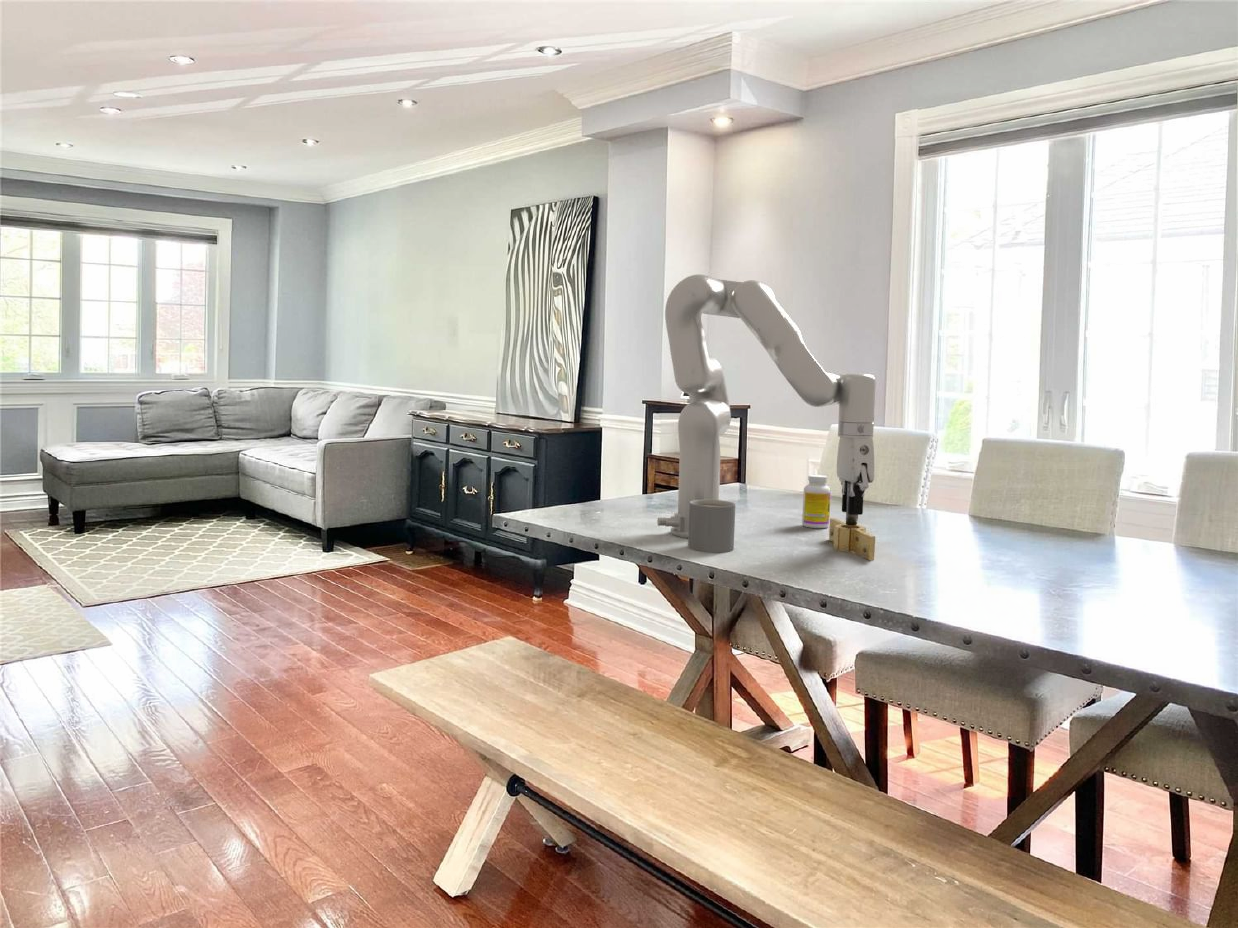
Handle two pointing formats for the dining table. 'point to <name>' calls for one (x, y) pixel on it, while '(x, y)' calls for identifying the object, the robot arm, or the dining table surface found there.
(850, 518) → the hinge pin
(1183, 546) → the dining table surface
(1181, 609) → the dining table surface
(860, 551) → the hinge base
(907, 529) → the dining table surface
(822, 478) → the supplement bottle
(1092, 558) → the dining table surface
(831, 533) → the wooden hinge leaf
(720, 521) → the coffee mug
